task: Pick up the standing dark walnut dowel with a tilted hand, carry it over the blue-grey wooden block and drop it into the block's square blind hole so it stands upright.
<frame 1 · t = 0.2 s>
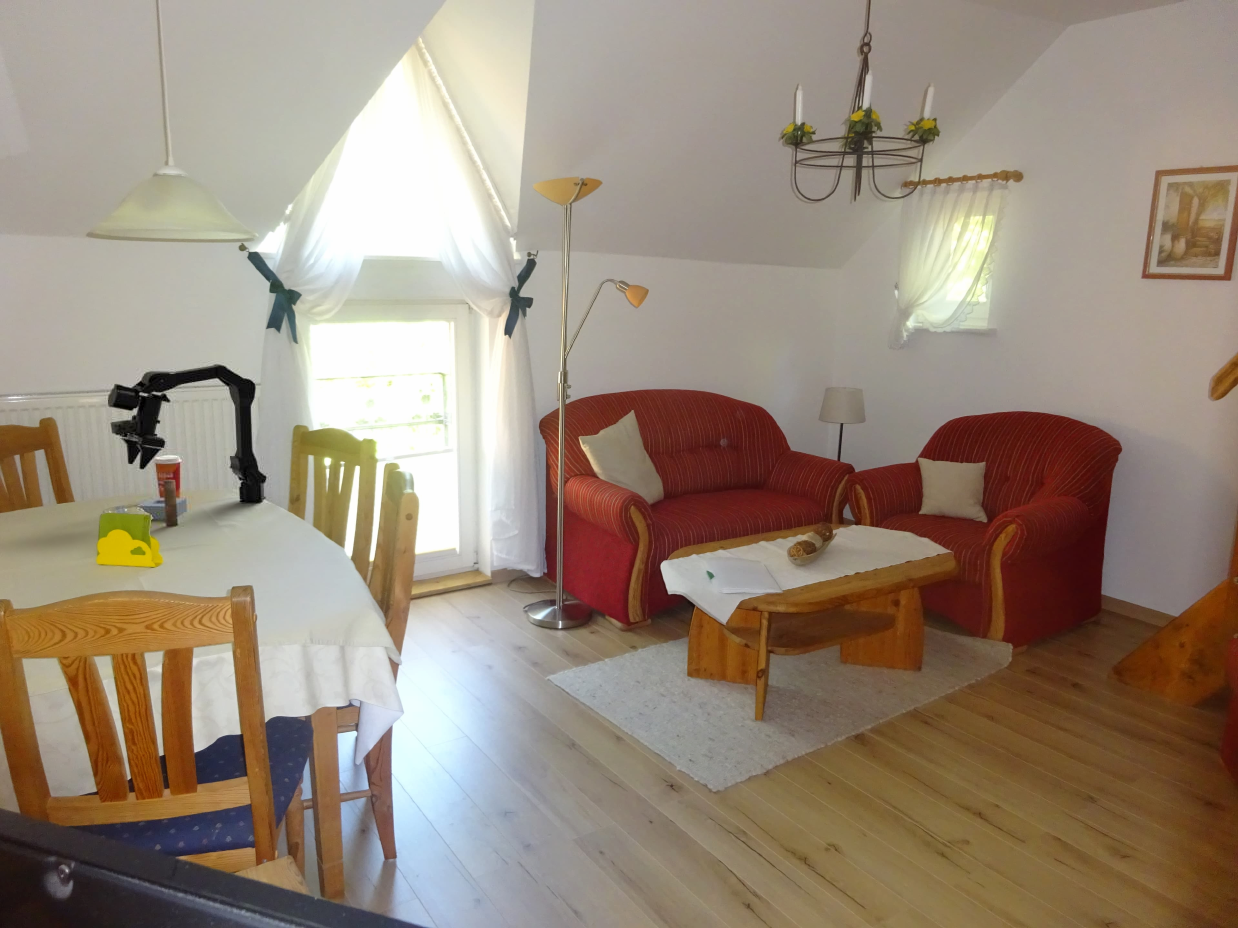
hand: (135, 466, 245), 15 cm above the table, tool tilted 15°, fingers open, 9 cm apart
dowel: (172, 525, 242), on the table
paper cup: (170, 500, 269), on the table
socket block: (162, 514, 252), on the table
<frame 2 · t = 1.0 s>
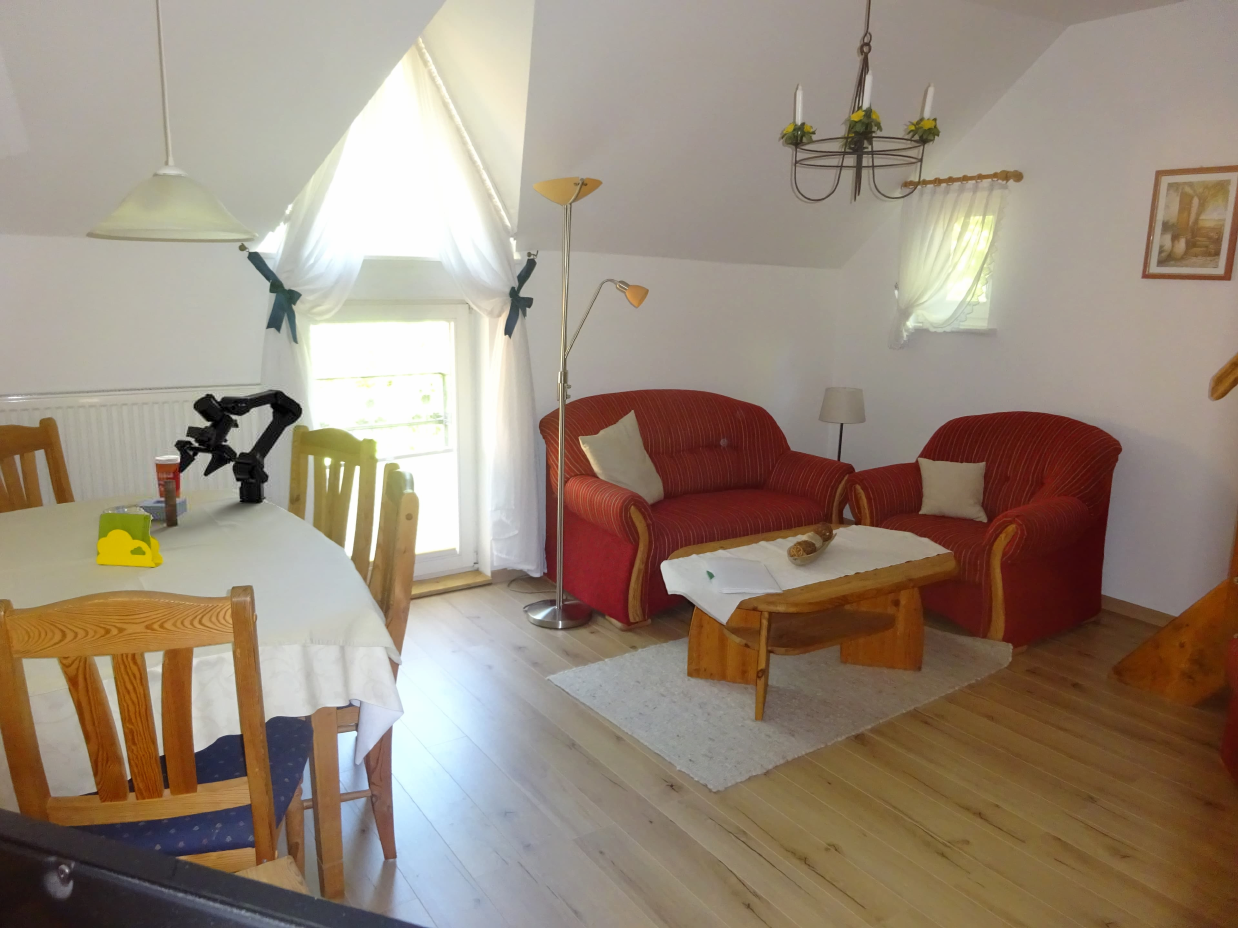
hand: (192, 474, 247), 13 cm above the table, tool tilted 45°, fingers open, 9 cm apart
nothing on the table moved.
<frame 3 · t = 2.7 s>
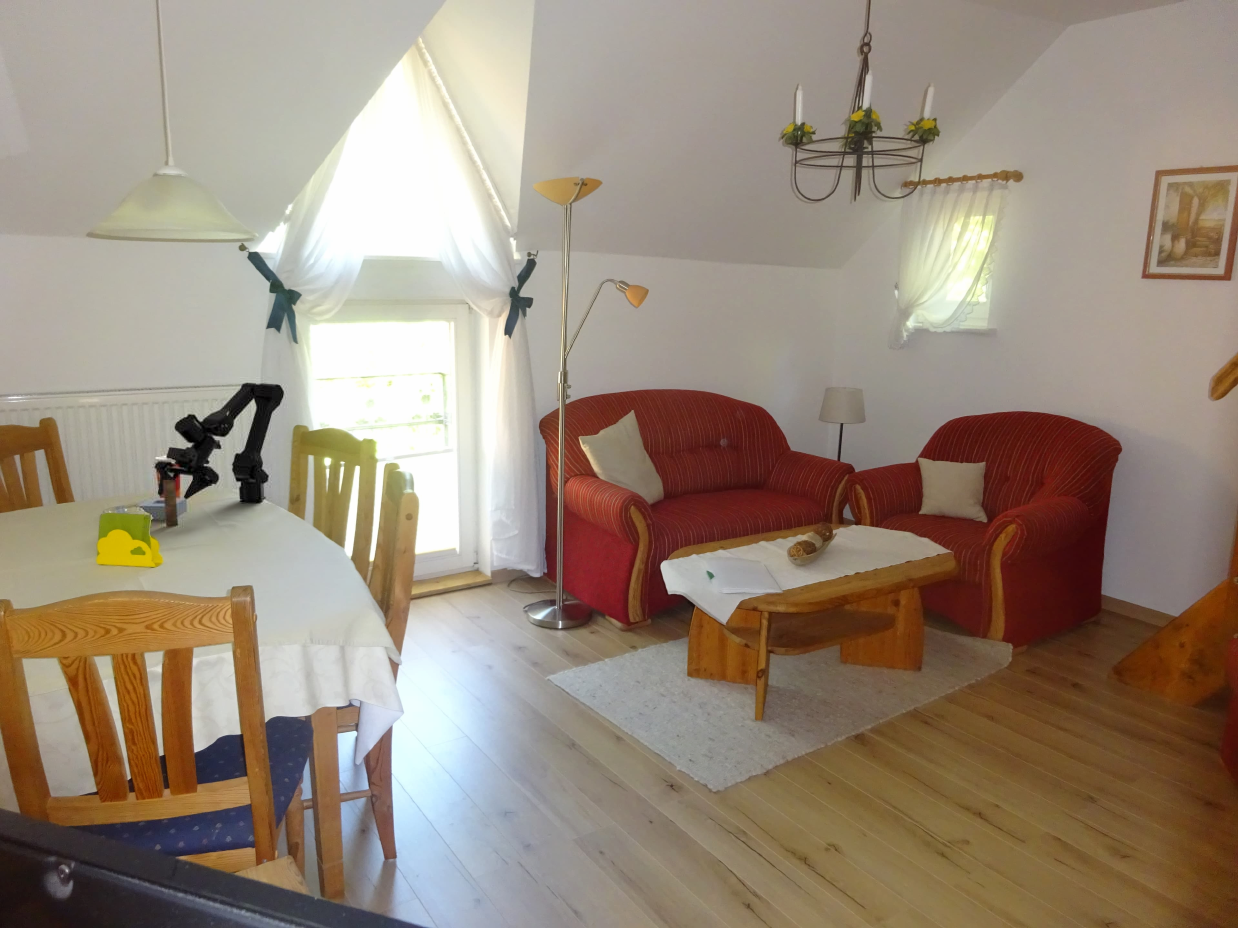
hand: (171, 496, 241), 8 cm above the table, tool tilted 45°, fingers open, 9 cm apart
nothing on the table moved.
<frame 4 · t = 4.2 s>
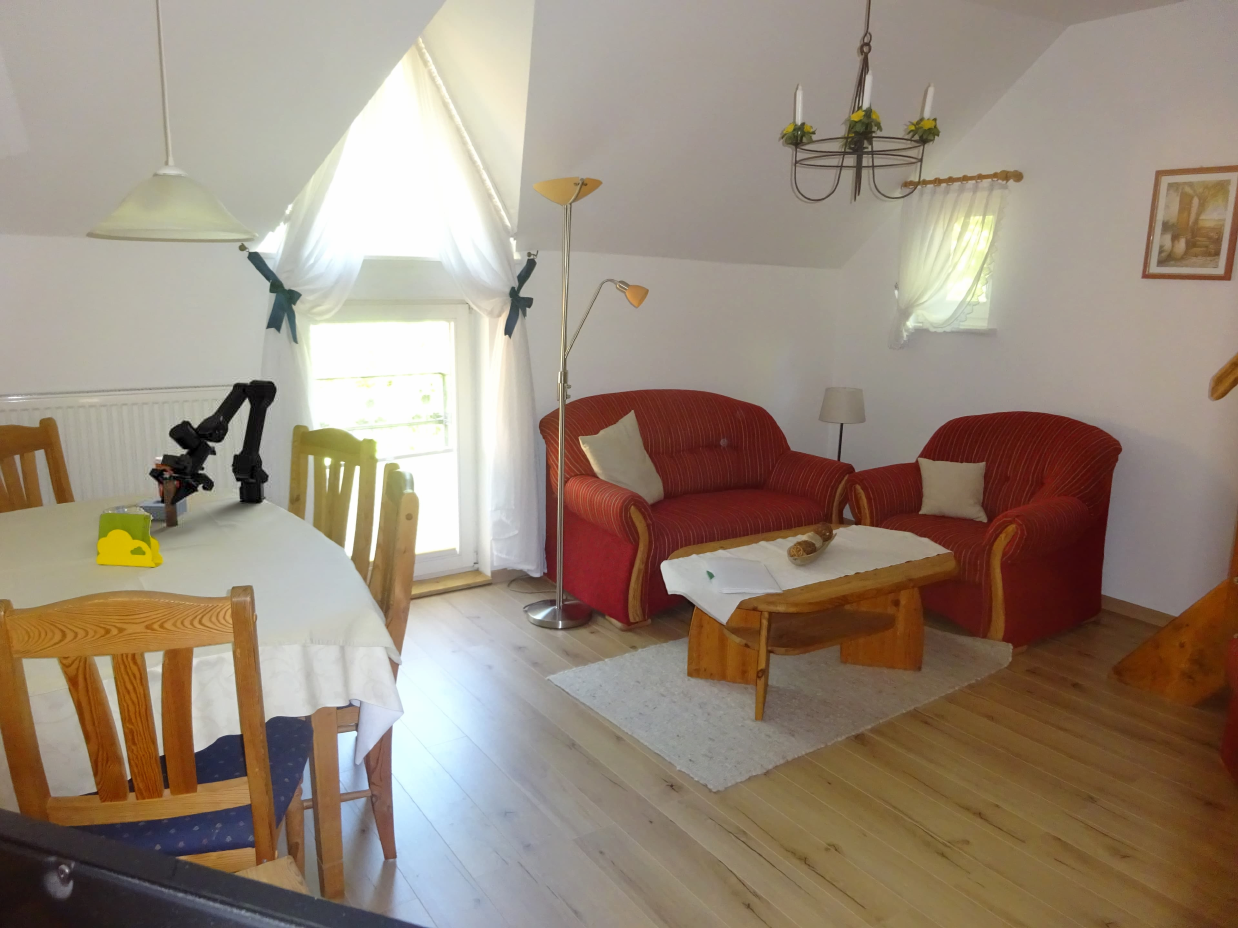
hand: (166, 503, 239), 7 cm above the table, tool tilted 45°, fingers closed on dowel, 3 cm apart
dowel: (172, 525, 242), on the table, touching gripper
everything else where it was.
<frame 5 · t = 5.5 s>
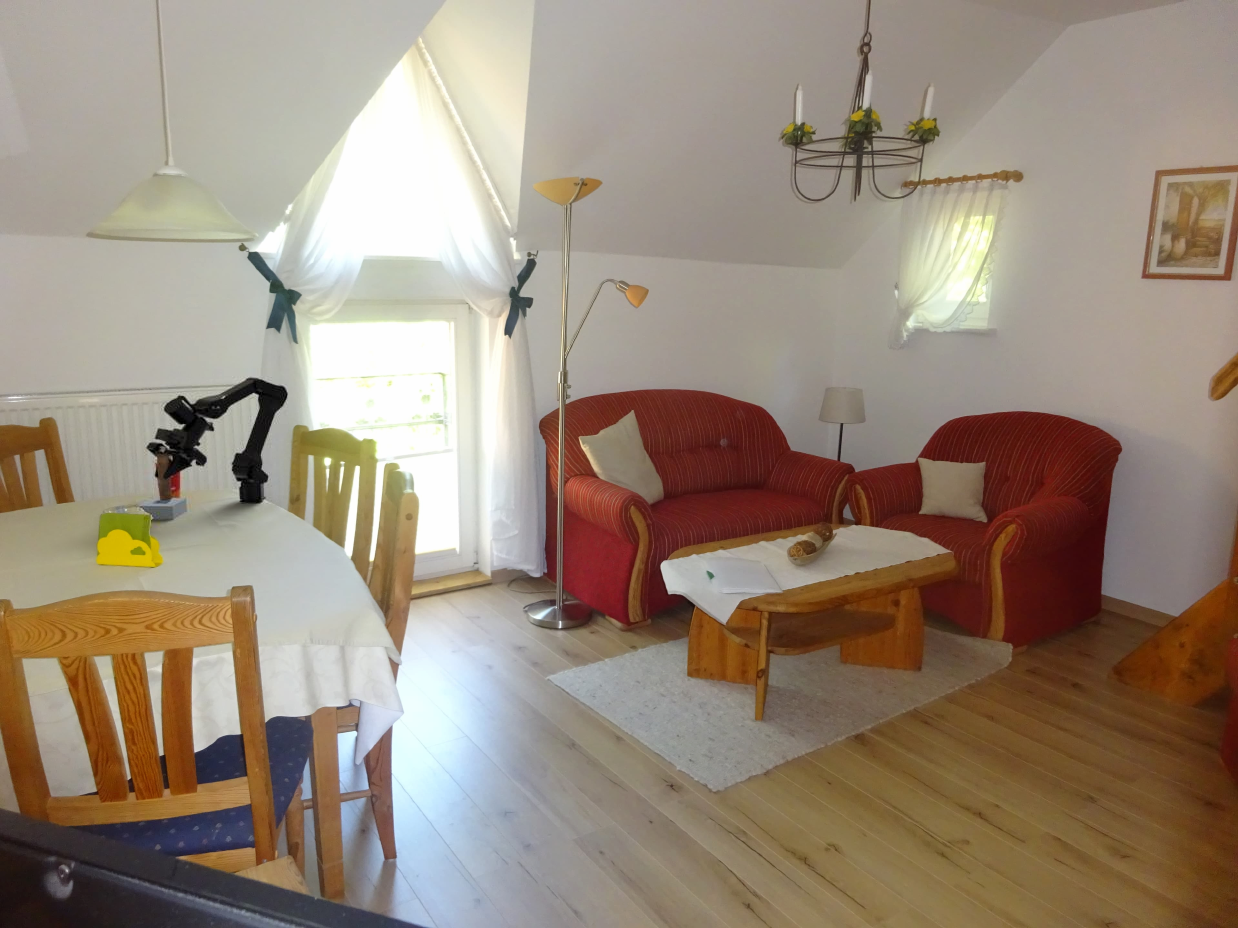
hand: (160, 477, 240), 13 cm above the table, tool tilted 45°, fingers closed on dowel, 3 cm apart
dowel: (166, 499, 243), point 7 cm above the table, touching gripper
everything else where it was.
when the fingers open (12 cm above the table, at t = 6.8 s): dowel drops 4 cm, resting on socket block.
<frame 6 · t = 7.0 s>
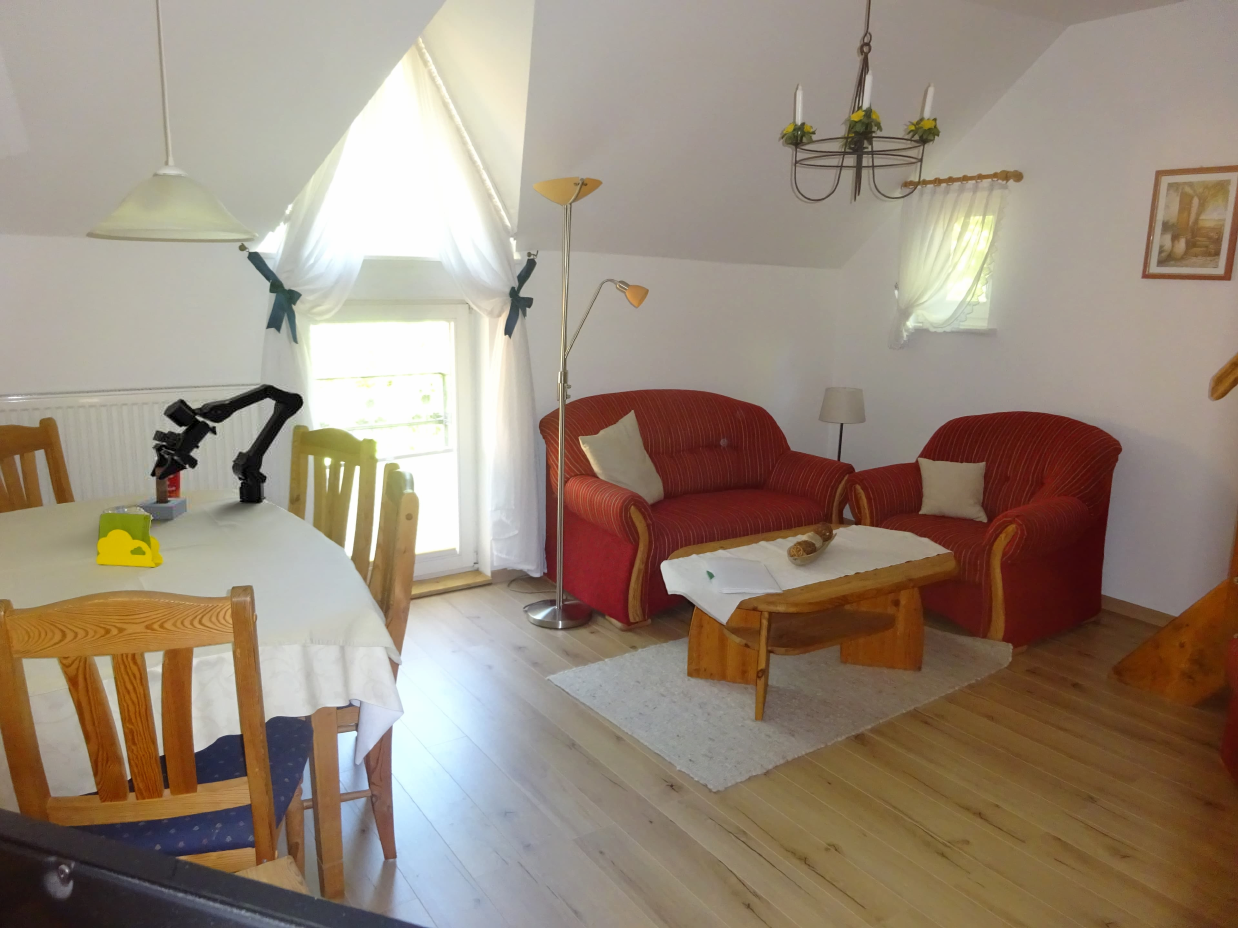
hand: (155, 477, 248), 12 cm above the table, tool tilted 45°, fingers open, 5 cm apart
dowel: (162, 511, 251), point 1 cm above the table, tilted 6°, touching gripper, socket block
everything else where it was.
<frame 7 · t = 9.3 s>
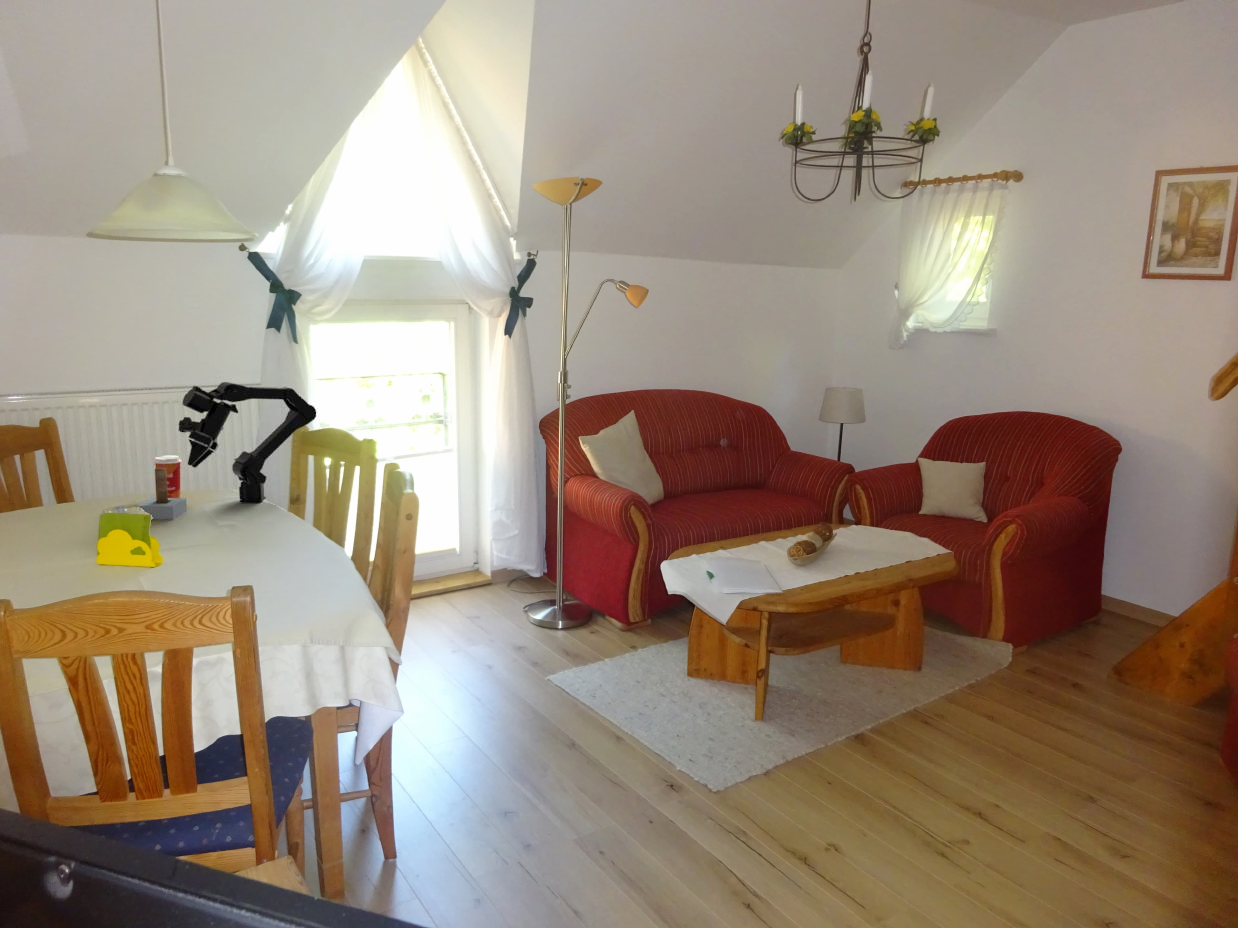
hand: (191, 466, 256), 14 cm above the table, tool tilted 30°, fingers open, 9 cm apart
dowel: (162, 511, 251), point 1 cm above the table, touching socket block
everything else where it was.
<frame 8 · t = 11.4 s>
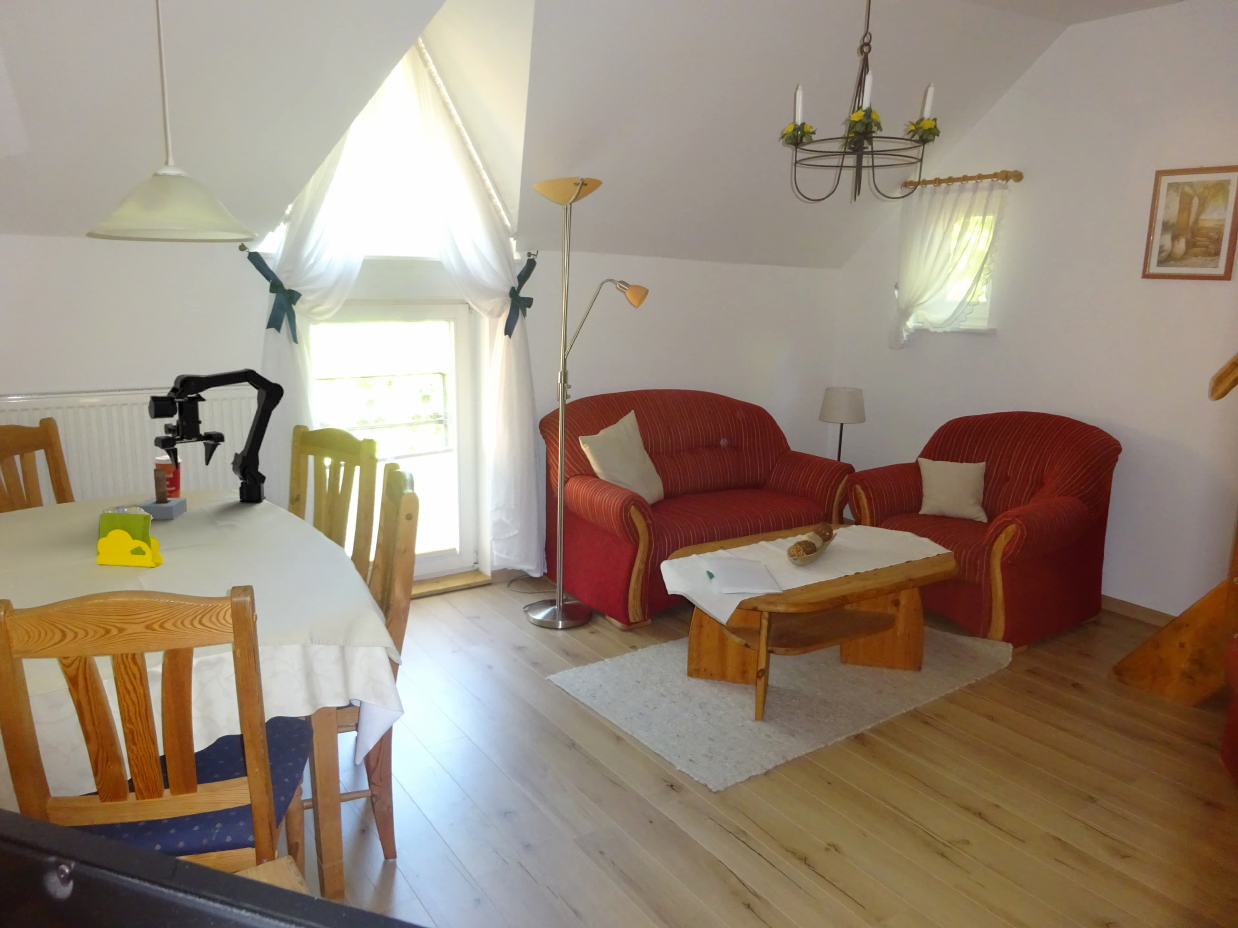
hand: (191, 467, 258), 13 cm above the table, tool pointing down, fingers open, 9 cm apart
nothing on the table moved.
at the end: dowel 0.0 cm off-centre on the socket block, point 1.0 cm above the socket block's base; dowel tilted 0°; the gripper is holding nothing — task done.
